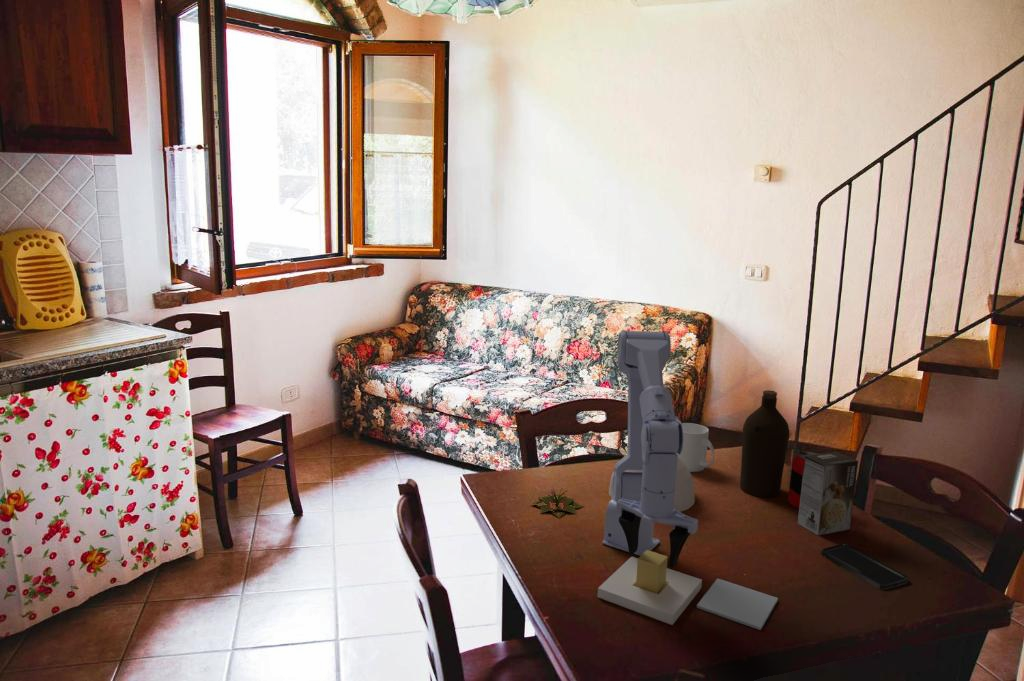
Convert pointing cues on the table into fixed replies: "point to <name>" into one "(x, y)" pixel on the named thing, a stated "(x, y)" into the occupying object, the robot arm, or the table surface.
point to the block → (651, 571)
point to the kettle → (676, 487)
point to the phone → (864, 566)
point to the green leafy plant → (564, 500)
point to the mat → (738, 603)
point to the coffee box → (827, 492)
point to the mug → (695, 447)
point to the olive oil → (764, 449)
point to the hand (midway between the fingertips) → (652, 558)
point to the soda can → (797, 478)
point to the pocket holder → (650, 593)
